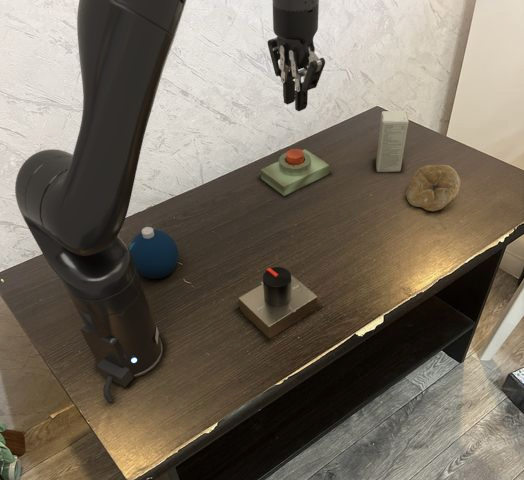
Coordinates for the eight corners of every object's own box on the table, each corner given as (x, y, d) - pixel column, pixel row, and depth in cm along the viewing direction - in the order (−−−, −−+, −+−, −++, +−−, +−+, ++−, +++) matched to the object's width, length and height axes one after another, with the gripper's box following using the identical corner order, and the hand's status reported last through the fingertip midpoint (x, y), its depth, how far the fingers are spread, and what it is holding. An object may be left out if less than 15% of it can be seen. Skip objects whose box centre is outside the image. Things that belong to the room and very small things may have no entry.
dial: (297, 297, 81) (297, 275, 77) (276, 311, 79) (275, 289, 75) (278, 283, 83) (278, 261, 79) (258, 296, 81) (257, 274, 77)
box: (399, 160, 108) (408, 110, 99) (400, 172, 106) (410, 121, 97) (374, 160, 109) (381, 110, 100) (375, 172, 106) (382, 121, 97)
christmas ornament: (145, 253, 94) (132, 209, 86) (188, 259, 92) (178, 214, 84) (128, 285, 89) (112, 240, 81) (173, 291, 87) (161, 246, 79)
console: (270, 340, 79) (269, 327, 77) (238, 309, 84) (237, 296, 81) (318, 310, 83) (318, 296, 80) (285, 282, 87) (284, 268, 85)
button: (293, 168, 102) (293, 160, 101) (282, 160, 104) (282, 152, 103) (307, 161, 103) (307, 153, 102) (296, 154, 105) (296, 146, 104)
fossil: (416, 160, 98) (467, 165, 92) (423, 168, 102) (472, 174, 96) (400, 204, 99) (449, 213, 93) (407, 211, 103) (455, 220, 97)
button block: (284, 196, 102) (283, 178, 99) (261, 178, 107) (260, 161, 103) (328, 174, 106) (329, 157, 103) (304, 158, 111) (305, 141, 107)
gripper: (251, -6, 83) (257, 99, 97) (305, 18, 76) (303, 127, 90) (287, -17, 86) (287, 86, 100) (342, 5, 79) (334, 113, 92)
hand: (295, 105), depth 95 cm, fingers open, 3 cm apart
